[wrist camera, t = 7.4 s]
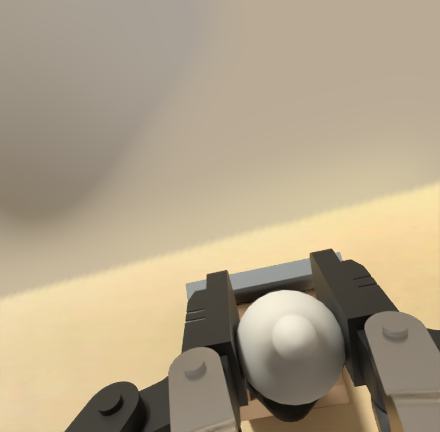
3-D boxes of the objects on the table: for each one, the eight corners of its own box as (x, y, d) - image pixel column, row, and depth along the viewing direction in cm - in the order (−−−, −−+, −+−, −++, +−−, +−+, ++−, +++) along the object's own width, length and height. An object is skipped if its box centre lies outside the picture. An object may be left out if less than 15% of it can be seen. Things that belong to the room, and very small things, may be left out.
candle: (325, 352, 28) (519, 326, 6) (285, 403, 28) (326, 614, 5) (277, 310, 30) (275, 160, 8) (238, 356, 29) (103, 344, 7)
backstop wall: (204, 310, 43) (187, 299, 35) (202, 297, 44) (185, 283, 36) (331, 284, 42) (344, 267, 34) (327, 272, 43) (339, 252, 35)
